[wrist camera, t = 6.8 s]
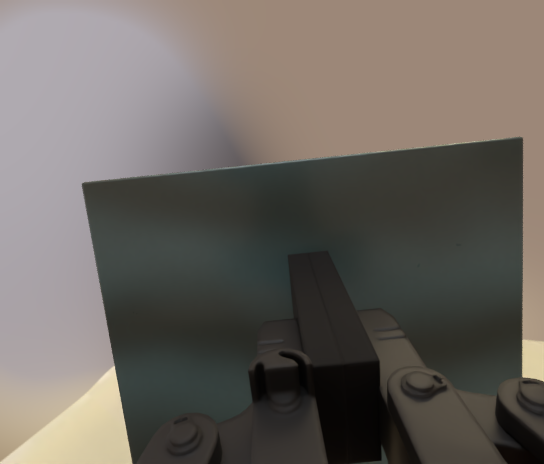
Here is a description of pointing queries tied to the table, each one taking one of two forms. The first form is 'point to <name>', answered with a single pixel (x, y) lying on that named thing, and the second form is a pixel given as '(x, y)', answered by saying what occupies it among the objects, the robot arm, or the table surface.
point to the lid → (303, 239)
